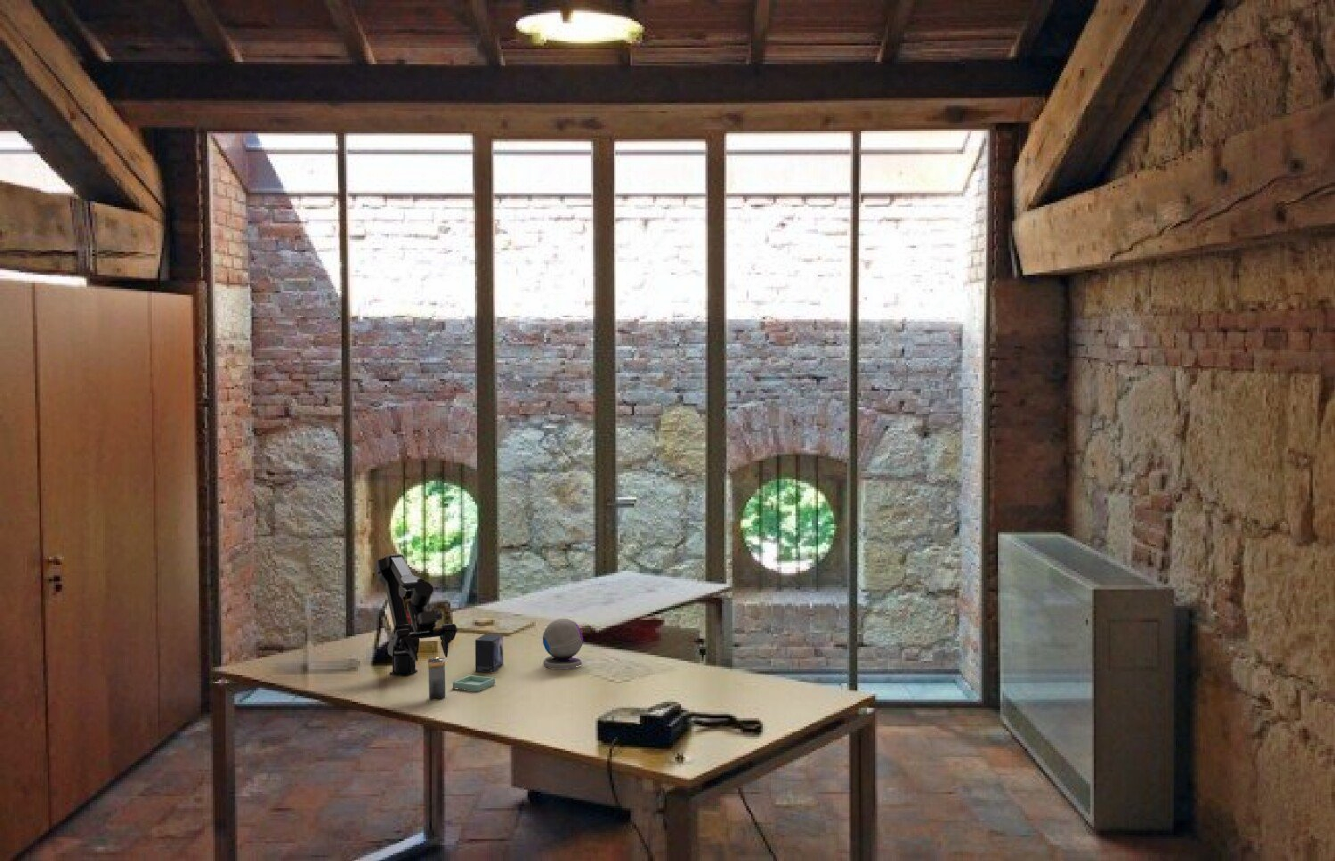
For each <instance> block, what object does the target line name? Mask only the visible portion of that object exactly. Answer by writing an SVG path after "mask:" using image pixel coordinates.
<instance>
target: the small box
mask: <svg viewBox="0 0 1335 861" xmlns="http://www.w3.org/2000/svg"><path fill="white" fill-rule="evenodd" d="M474 646H475V647H474V650H475V651H474V652H475V653H474V655H475V656H474V657H475V662H474V663H475V667H474V670H475V671H474V672H475V673H490V672H493V673H495V672H496V671H498V668H499V669H500V668H501V667H503V666H504V634H502V633H490V632H489V633H488V632H485V633H484V634H482V635H481V636H478V638H476V639H475V640H474ZM502 665H503V666H502Z"/></svg>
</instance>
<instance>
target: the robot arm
mask: <svg viewBox="0 0 1335 861" xmlns="http://www.w3.org/2000/svg"><path fill="white" fill-rule="evenodd" d="M374 573H375V575H377V579H378V582H380V583H381V584H382V586H384V588H385V592H386V596H387V601H388V602H387V603H388V607H389V611H390V616H391V620H392V624H393V629H392V632H391V634H390V639H389V642H388V645H387V653H388V655H389V656H391V658H392V660H391V661H392V662H391V663H392V671H389V675H396V676H405V677H407V676H410V675H412V674H414V673H415V674H416V673H417V672H418V669H416V662H418V660H419V656H418V654H419V648H420V639H429V638H438V637H439V638H440V645H441V649H442V653H443V655H444V658H448V655H449V644H450V643H451V642H452V641H453V640H454V639H455V637H456V634H457V632H458V627H457V625H456V624H455V623H445V624H442V626H441V628H440V629H434V628H435V627H436V622H438V621H440V620H441V619H442V618H443V613H442V610H441V608H434V609H433V610H429V609H428V606H429V604H430V602H431V599H432V596H433V593H434V587H433V585H432V584H431V583H430V582H428V581H425V579H424V578H420V577H419V576H417V575H414V574H413V573H412V571H411V569H410V568H409V566H408V564H407V562H406V560H405V556H404V554H402V553H395V554H394V553H393V554H388V555H386V556H385V557H383V558H379V559H378V560H377V561H376V562H375V563H374ZM404 601H408V602H407V604H406V605H405V602H404ZM405 606H406V607H407V610H406V607H405ZM406 611H407V612H406ZM407 613H408V614H409V619H410V621H411V623H410V622H409V620H408V617H407Z"/></svg>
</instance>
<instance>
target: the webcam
mask: <svg viewBox="0 0 1335 861" xmlns="http://www.w3.org/2000/svg"><path fill="white" fill-rule="evenodd" d="M583 643H584V637H583V633H582V630H581V628H580V626H579V625H578V624H577V623H576V622H575V621H574V620H573V619H569V618H558V619H555V620H553V621H551V622H550V623H549V624H548V625H547V626H546V628H544V631H543V633H542V644H543V647H544V649H545V651H546V652H547V653H548V654H549V655H550V656H548V657H545V658H544V659H543V667H545V666H546V667H548V668H547V669H550V668H555V669H554V670H567V669H566V668H573V667H576V666H579V665H581V664H582V663H583V662H582V659H580V658H576V657H575V656H576V655H577V654H578V653H579V652H580V651H581V648H582V647H583ZM582 665H583V664H582ZM546 667H545V668H546ZM573 669H574V668H573Z"/></svg>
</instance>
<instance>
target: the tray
mask: <svg viewBox="0 0 1335 861" xmlns="http://www.w3.org/2000/svg"><path fill="white" fill-rule="evenodd" d="M494 684H495V685H496V678H494V677H489V676H482V675H481V676H480V675H472V674H469V675H467V676H465V677H461V678H460V679H457V680H454V681H452V689H453V688H458V689H457V690H460V689H463V690H462V691H468V690H470V691H471V692H476V691H478V692H481V691H483V689H484V688H486V689H488V688H491V687H492V685H493V686H495V685H494ZM490 686H491V687H490ZM464 689H465V690H464ZM480 690H481V691H480ZM484 690H485V689H484ZM470 691H469V692H470ZM478 692H477V693H478Z"/></svg>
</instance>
